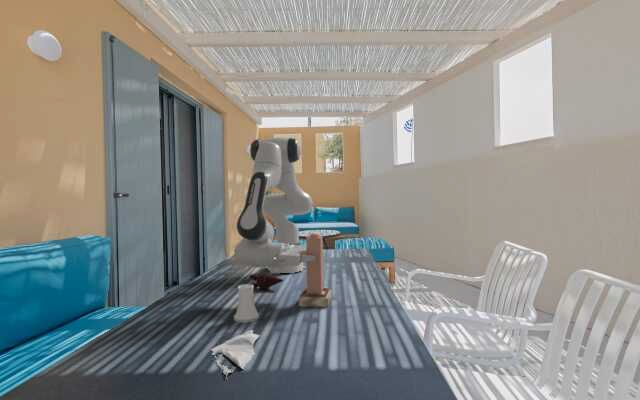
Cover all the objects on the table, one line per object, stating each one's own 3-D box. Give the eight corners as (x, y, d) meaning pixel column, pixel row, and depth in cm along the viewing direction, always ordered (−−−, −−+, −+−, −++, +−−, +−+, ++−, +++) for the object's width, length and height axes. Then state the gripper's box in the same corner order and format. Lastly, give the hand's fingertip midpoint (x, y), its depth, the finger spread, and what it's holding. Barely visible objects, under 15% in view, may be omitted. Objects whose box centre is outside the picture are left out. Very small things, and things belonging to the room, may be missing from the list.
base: (298, 305, 117) (298, 294, 117) (304, 297, 127) (304, 286, 127) (327, 306, 116) (327, 295, 116) (331, 297, 125) (331, 287, 125)
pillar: (307, 295, 119) (306, 234, 119) (309, 290, 124) (308, 233, 124) (321, 295, 118) (320, 234, 118) (323, 291, 123) (322, 233, 123)
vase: (253, 323, 102) (252, 290, 102) (229, 322, 104) (228, 289, 103) (262, 314, 109) (261, 283, 109) (240, 313, 111) (239, 282, 111)
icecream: (286, 271, 141) (254, 273, 146) (279, 271, 135) (245, 272, 139) (286, 289, 140) (254, 290, 144) (279, 289, 133) (245, 290, 137)
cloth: (235, 331, 98) (235, 323, 98) (281, 334, 95) (281, 326, 95) (179, 379, 73) (179, 368, 73) (239, 385, 70) (239, 374, 70)
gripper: (270, 251, 113) (312, 251, 111) (286, 242, 133) (321, 242, 131) (271, 270, 113) (312, 270, 111) (286, 258, 133) (321, 258, 131)
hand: (317, 255), depth 121 cm, fingers open, 8 cm apart
